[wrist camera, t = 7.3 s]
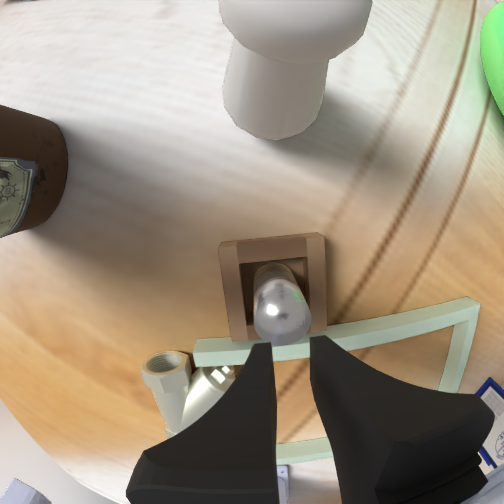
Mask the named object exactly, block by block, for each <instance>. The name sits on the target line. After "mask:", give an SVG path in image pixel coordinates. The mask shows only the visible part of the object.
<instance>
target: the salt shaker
mask: <svg viewBox="0 0 504 504" xmlns="http://www.w3.org/2000/svg"><path fill="white" fill-rule="evenodd" d="M218 1H219V10H220V14H221V18H222V21H223V24H224V25H225V26H226V27H227V28H228V29H229V31H230V32H231V33H232V34H233V35H234V37H235V38H234V42H233V45H232V49H231V53H230V57H229V61H228V65H227V69H226V73H225V78H224V82H223V86H222V90H223V99H224V108H225V109H226V111H227V112H228V114H229V115H230V117H231V118H232V120H233V121H234V123H235V124H236V126H238V127H239V128H241V129H243V130H245V131H246V132H248V133H250V134H251V135H253V136H255V137H257V138H265V139H273V140H281V139H284V138H287V137H291V136H294V135H298V134H301V133H302V132H303V131H304V130H305V129H306V128H307V127H309V126H310V125H311V124H312V123H313V122H314V121H315V120H316V119H317V116H318V113H319V111H320V108H321V105H322V102H323V96H324V90H325V83H326V76H327V69H328V63H329V60H330V59H332V58H335V57H336V56H338V55H339V54H341V53H342V52H343V51H345V50H346V49H348V48H349V47H351V46H352V45H354V44H355V43H356V42H357V41H358V40H359V39H360V37H361V36H362V35H363V33H364V30H365V27H366V25H367V21H368V18H369V14H370V10H371V6H372V0H218Z"/></svg>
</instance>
